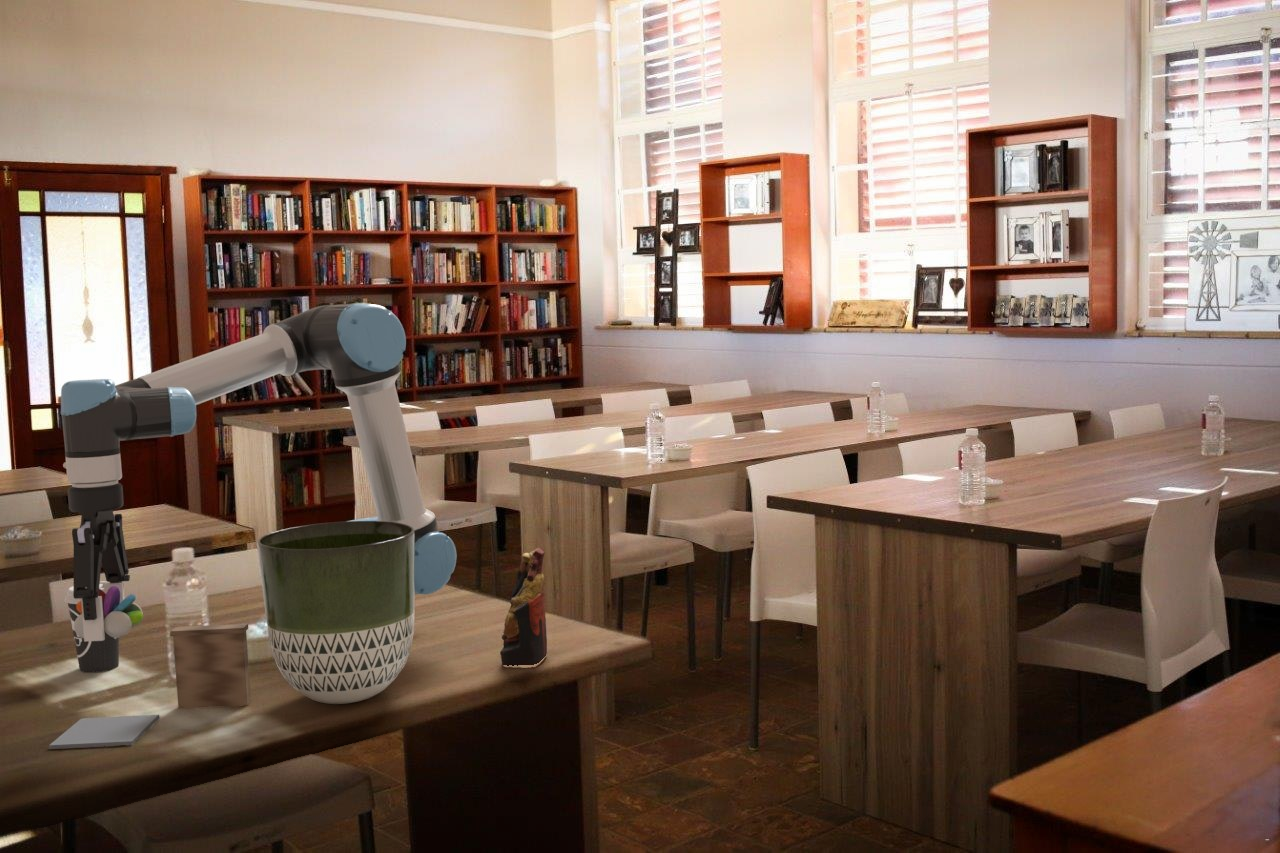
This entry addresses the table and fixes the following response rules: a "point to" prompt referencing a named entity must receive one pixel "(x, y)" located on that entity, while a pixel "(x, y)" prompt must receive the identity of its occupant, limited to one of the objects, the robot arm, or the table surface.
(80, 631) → the rainbow petal cluster
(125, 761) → the table surface
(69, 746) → the pad
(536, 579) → the statue
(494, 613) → the table surface
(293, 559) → the planter
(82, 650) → the coffee cup
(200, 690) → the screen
